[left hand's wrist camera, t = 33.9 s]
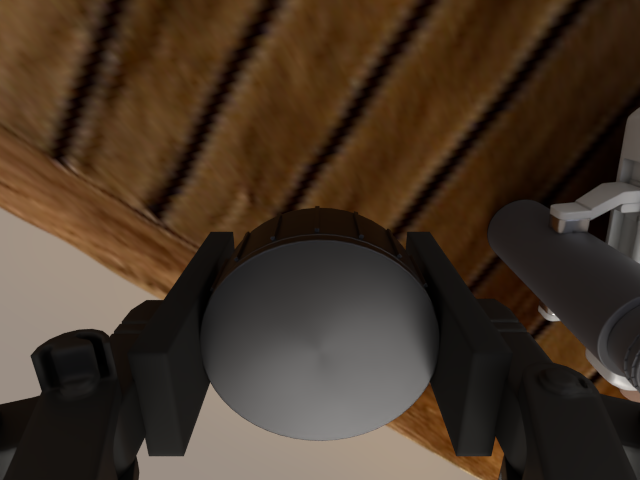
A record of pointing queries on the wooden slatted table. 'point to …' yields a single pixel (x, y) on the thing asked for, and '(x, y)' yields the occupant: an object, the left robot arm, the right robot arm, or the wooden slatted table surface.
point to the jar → (575, 282)
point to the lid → (319, 327)
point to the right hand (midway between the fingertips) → (547, 265)
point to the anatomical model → (631, 395)
